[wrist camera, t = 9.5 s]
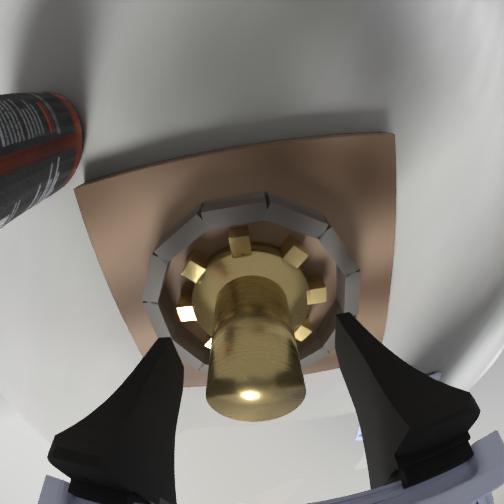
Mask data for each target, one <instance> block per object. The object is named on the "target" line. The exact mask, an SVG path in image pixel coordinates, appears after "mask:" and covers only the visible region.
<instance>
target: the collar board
mask: <svg viewBox="0 0 504 504" xmlns="http://www.w3.org/2000/svg"><path fill="white" fill-rule="evenodd" d="M74 192H75V195H76V199H77V202H78V205H79V208H80V212H81V215H82V218H83V221H84V224H85V227H86V229H87V232H88V235H89V238H90V241H91V243H92V246H93V249H94V251H95V254H96V257H97V259H98V262H99V264H100V267H101V269H102V272H103V274H104V277H105V279H106V281H107V284H108V286H109V288H110V291H111V293H112V295H113V297H114V300H115V302H116V304H117V306H118V308H119V311H120V313H121V315H122V317H123V319H124V321H125V323H126V325H127V327H128V329H129V331H130V333H131V335H132V337H133V339H134V341H135V343H136V345H137V347H138V349H139V351H140V352H141V354H142V356H143V357H144V356H145V355H146V353H147V352H148V351H149V349H150V348H151V347H152V345H153V344H154V343H155V341H156V340H157V339H158V338H162V337H171V339H172V341H173V343H174V346H175V348H176V350H177V352H178V355H179V357H180V359H181V361H182V363H183V366H184V383H183V387H198V386H207V377H208V367H209V357H210V348H208V347H206V346H205V339H206V331H204V330H203V328H202V327H201V326H200V325H199V323H198V322H197V320H190V321H181V319H180V316H179V314H178V311H177V305H178V301H179V298H180V295H182V294H190V293H193V289H194V285H195V282H193V281H192V280H190V279H188V278H187V277H185V276H183V275H182V274H181V273H182V270H183V267H184V264H185V262H186V260H187V259H188V257H189V256H190V254H191V253H192V252H193V250H194V249H195V250H197V251H198V252H200V253H201V254H203V255H205V256H206V257H208V258H209V257H210V256H211V255H212V254H213V253H215V252H216V251H218V250H220V249H222V248H224V247H226V246H228V245H230V244H229V239H228V238H229V228H234V227H241V226H247V225H248V227H249V233H250V239H251V241H258V242H265V243H269V244H272V245H275V246H277V247H280V246H281V245H282V244H283V242H284V241H285V240H286V239H287V238H288V237H289V235H291V236H293V237H294V238H295V239H297V240H298V241H300V242H301V243H302V244H304V246H305V248H306V251H307V253H308V255H309V256H308V257H307V258H306V259H305V260H304V262H303V263H302V264H301V265H300V266H301V267H302V269H303V271H304V274H305V277H311V276H317V275H321V276H322V279H323V281H324V283H325V286H326V302H322V303H316V304H311V305H310V310H309V312H308V315H307V317H308V318H309V321H310V325H311V328H312V332H311V333H310V334H309V335H308V336H307V337H306V338H305V339H304V340H303V341H302V342H301V341H300V340H298V339H296V338H295V339H296V343H297V348H298V353H299V358H300V363H301V368H302V373H303V375H304V374H310V373H315V372H321V371H326V370H331V369H336V368H340V367H339V363H338V359H337V355H336V351H335V323H336V314H341V313H346V312H350V313H351V314H352V315H353V316H354V317H355V318H356V319H357V320H358V321H359V322H360V323H361V324H362V325H363V326H364V327H365V328H366V329H367V330H368V331H369V332H370V333H371V334H372V335H373V336H374V337H375V338H376V339H377V340H378V341H380V342H381V343H382V341H383V335H384V329H385V323H386V316H387V309H388V302H389V294H390V285H391V276H392V266H393V254H394V239H395V219H396V155H395V135H394V134H391V133H386V132H369V133H350V134H336V135H324V136H313V137H303V138H294V139H286V140H278V141H270V142H263V143H256V144H250V145H243V146H237V147H231V148H225V149H220V150H214V151H209V152H204V153H199V154H194V155H189V156H184V157H180V158H175V159H171V160H166V161H162V162H158V163H154V164H150V165H146V166H142V167H138V168H134V169H130V170H126V171H123V172H119V173H116V174H112V175H109V176H105V177H102V178H98V179H95V180H92V181H89V182H85V183H83V184H81V185H80V186H78V187H76V188H74Z"/></svg>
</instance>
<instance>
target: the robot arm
mask: <svg viewBox="0 0 504 504" xmlns="http://www.w3.org/2000/svg"><path fill="white" fill-rule="evenodd" d="M335 351H336V355H337V359H338V363H339V367H340V370H341V372H342V375H343V377H344V380H345V383H346V385H347V388H348V390H349V393H350V396H351V398H352V401H353V404H354V406H355V409H356V413H357V416H358V420H359V425H358V429H357V433H356V437H355V438H356V440H357V441H359V440H363V443H364V448H365V453H366V459H367V465H368V471H369V478H370V486H371V490H368V491H364V492H361V493H357V494H353V495H349V496H345V497H340V498H336V499H331V500H326V501H321V502H315V503H309V504H494V502H493V496H492V493H491V492H493V491H494V490H496V489H497V488H499V487H500V486H502V485H503V484H504V443H503V441H502V439H501V437H500V435H499V433H498V431H494V432H492V433H490V434H489V435H487V436H485V437H484V438H482V439H480V440H478V441H477V442H475V443H474V444H472V445H471V446H470V444H469V442H468V440H470V435H469V433H468V430H469V429H470V428H471V426H472V425H473V424H474V423H475V421H476V420H477V418H478V416H479V414H480V409H479V407H478V405H477V403H476V401H475V399H474V398H473V397H472V395H471V394H470V392H467V391H464V390H461V389H458V388H455V387H452V386H449V385H447V384H444V383H442V382H440V381H439V380H440V378H441V374H440V373H439V372H438V373H435V374H432V375H429V376H428V375H426V374H424V373H422V372H420V371H418V370H417V369H415V368H413V367H412V366H410V365H409V364H407V363H406V362H404V361H403V360H402V359H400V358H399V357H398V356H396V355H395V354H394V353H392V352H391V351H390V350H389V349H388V348H386V347H385V346H384V345H383V344H382V343H381V342H380V341H378V340H377V339H376V338H375V337H374V336H373V335H372V334H371V333H370V332H369V331H368V330H367V329H366V328H365V327H364V326H363V325H362V324H361V323H360V322H359V321H358V320H357V319H356V318H355V317H354V316H353V315H352V314H351V313H350V312H346V313H341V314H336V323H335ZM183 383H184V366H183V363H182V361H181V359H180V357H179V355H178V352H177V350H176V348H175V346H174V343H173V341H172V339H171V337H162V338H158V339H157V340H156V341H155V343H154V344H153V345H152V347H151V348H150V349H149V351H148V352H147V353H146V355H145V356H144V357H143V359H142V360H141V361H140V363H139V364H138V365H137V367H136V368H135V369H134V371H133V372H132V373H131V374H130V375H129V376H128V378H127V379H126V380H125V381H124V382H123V384H122V385H121V386H120V387H119V388H118V389H117V390H116V391H115V392H114V393H113V394H112V395H111V396H110V397H109V398H108V399H107V400H106V401H105V402H104V403H103V404H102V405H100V406H99V407H98V408H97V409H96V410H94V411H93V412H92V413H91V414H89V415H88V416H87V417H85V418H84V419H82V420H81V421H79V422H78V423H76V424H75V425H73V426H72V427H70V428H68V429H66V430H64V431H63V432H61V433H59V434H57V435H55V437H54V440H53V442H52V445H51V448H50V451H49V454H48V457H47V458H48V460H49V462H50V463H51V464H52V465H53V466H55V467H56V468H57V469H59V470H60V471H61V472H63V473H64V474H65V475H67V476H68V477H70V478H71V482H70V483H68V482H66V481H63V480H60V479H57V478H55V477H52V476H49V475H46V477H45V481H44V484H43V487H42V491H41V494H40V498H39V501H38V504H177V503H176V492H175V478H174V476H175V475H174V447H175V431H176V424H177V419H178V413H179V408H180V402H181V397H182V391H183Z"/></svg>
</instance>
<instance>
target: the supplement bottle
mask: <svg viewBox="0 0 504 504" xmlns="http://www.w3.org/2000/svg"><path fill="white" fill-rule="evenodd" d="M82 141H83V140H82V127H81V123H80V120H79V117H78V115H77V113H76V111H75V109H74V108H73V106H72V105H71V104H70V102H69V101H68V100H66V99H65V98H64V97H62V96H61V95H59V94H56V93H51V92H28V93H14V94H4V95H0V228H2V227H3V226H4V225H6V224H7V223H9V222H10V221H12V220H13V219H14V218H16V217H17V216H19V215H20V214H22V213H23V212H25V211H27V210H28V209H30V208H31V207H33V206H34V205H36V204H38V203H39V202H41V201H42V200H44V199H45V198H47V197H49V196H51V195H52V194H54V193H55V192H57V191H58V190H59V189H61V188H62V187H64V186H65V185H66V184H67V182H68V181H69V180H70V179H71V177H72V176H73V175H74V173H75V171H76V169H77V167H78V164H79V161H80V158H81V153H82Z"/></svg>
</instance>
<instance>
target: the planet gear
mask: <svg viewBox="0 0 504 504" xmlns="http://www.w3.org/2000/svg"><path fill="white" fill-rule="evenodd" d="M228 239H229V244H230V245H228V246H226V247H224V248H222V249H220V250H218V251H216V252H215V253H213V254H212V255H211V256H210V257H209V258H208V257H206V256H205V255H203V254H201V253H200V252H198V251H197V250H195V249H194V250H193V252H192V253H191V254H190V256H189V257H188V259H187V260H186V262H185V264H184V267H183V270H182V273H181V274H182V275H183V276H185V277H187V278H188V279H190V280H192V281H193V282H195V285H194V289H193V293H190V294H182V295H180V298H179V301H178V305H177V311H178V314H179V316H180V319H181V321H190V320H197V322H198V323H199V325H200V326H201V327H202V328H203V330H204V331H206V339H205V346H206V347H208V348H210V357H209V367H208V377H207V388H206V399H207V402H208V403H209V405H210V406H211V407H212V408H213V409H214V410H215V411H216V412H218V413H219V414H221V415H223V416H226V417H228V418H231V419H235V420H240V421H250V422H257V421H266V420H272V419H276V418H279V417H282V416H284V415H286V414H288V413H290V412H292V411H293V410H295V409H296V408H297V407H298V406H299V405H300V404H301V403H302V402H303V400H304V398H305V395H306V388H305V383H304V378H303V373H302V368H301V363H300V358H299V353H298V348H297V343H296V339H298V340H300V341H301V342H302V341H303V340H304V339H305V338H306V337H307V336H308V335H309V334H310V333H311V332H312V328H311V325H310V321H309V318H308V317H307V315H308V312H309V310H310V305H311V304H316V303H322V302H326V286H325V283H324V281H323V279H322V276H321V275H317V276H311V277H305V274H304V271H303V269H302V267H301V266H300V265H301V264H302V263H303V262H304V260H305V259H306V258H307V257H308V256H309V255H308V253H307V251H306V248H305V246H304V244H302V243H301V242H300V241H298V240H297V239H295V238H294V237H293V236H291V235H289V237H288V238H287V239H286V240H285V241H284V242H283V244H282V245H281V246H280V247H277V246H275V245H272V244H269V243H265V242H258V241H251V239H250V233H249V227H248V225H247V226H241V227H234V228H229V238H228ZM295 338H296V339H295Z"/></svg>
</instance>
